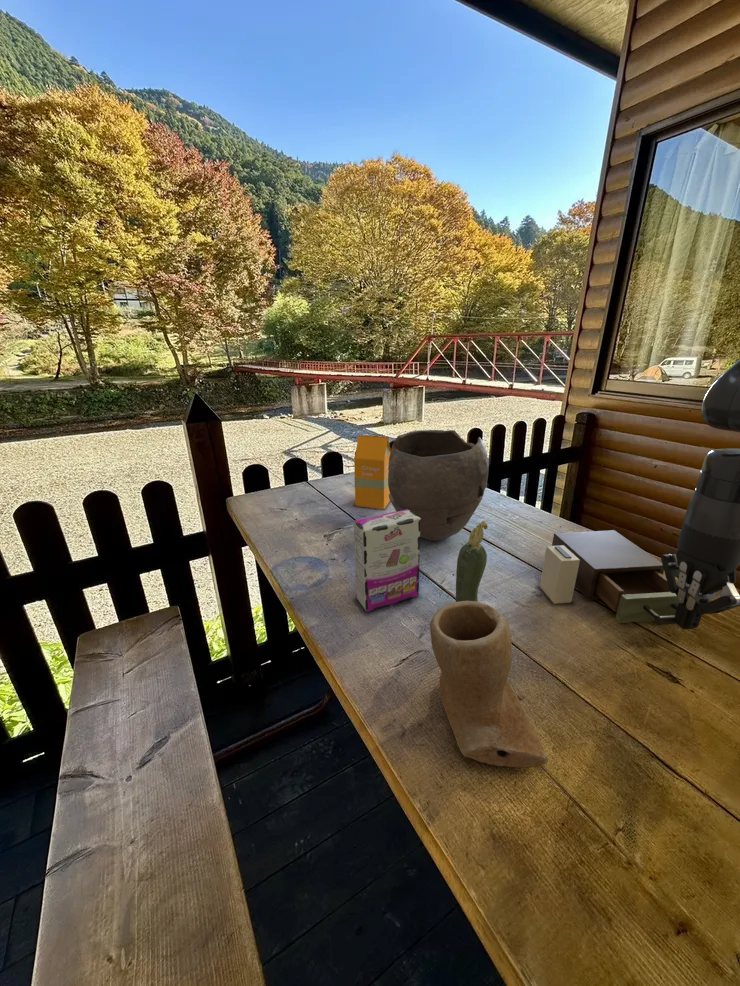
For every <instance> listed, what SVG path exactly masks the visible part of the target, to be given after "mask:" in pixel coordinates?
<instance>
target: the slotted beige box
mask: <svg viewBox="0 0 740 986" xmlns="http://www.w3.org/2000/svg"><path fill="white" fill-rule="evenodd" d="M579 562H580V560H579V559H578V558H577V557H576V556H575V555H574V554H573V553H572V552H570V551H569V550H568V549H567V548H566V547H565V546H564V545H561V546H552V545H546V546H545V553H544V559H543V566H542V571H541V577H540V584H539V588H540V589H541V590H542V592H544V594H546V596H547V597H548V598H549V600H550V601H551V602H552V603H553V604H567V603H568V604H570V603H572V602H573V597H574V591H575V588H576V587H575V582H576V577H577V572H578V567H579Z"/></svg>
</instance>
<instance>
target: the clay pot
mask: <svg viewBox="0 0 740 986" xmlns="http://www.w3.org/2000/svg"><path fill="white" fill-rule="evenodd" d="M485 445H486V444H485V443H484V442H483V440H482V438H481V437H480V436H479V437H478V438H477V442H476V444H475V443H472V442H467V441H466V440H465V439H464V438H462V436H461V435H460V434H459V433H458V432H456V430H453V429H449V430H443V429H442V430H441V429H427V430H426V429H423V430H422V429H421V430H420V429H419V430H412V431H409V432H406V433H403V434H399V435H396V438H395V440H394V442H393V443H392V445H391V447H390V449H391V453H390V457H389V466H388V470H389V472H388V487H389V491H390V494H389V499H390V503H391V505H392V507H393V509H394V510H395V512H397V511H402V510H406V509H408V510H410V511H411V512H412V513H414V514H415V515H417V516H418V517H420V518H421V519H420V538H423V539H425V540H428V541H430V542H433V541H436V542H437V541H442V540H446V539H448V538H450V537H452V536H455V535H457V534H458V533H460V532H461V531H462V530H463V528H464V527H466V526H467V524H468V523H469V522H470V519H471V518H472V517H473V515H474V514H475V512H476V511H477V508H478V507H479V506H480V504H481V502H482V500H483V498H484V494H485V490H486V488H487V486H488V485H487V484H488V478H489V472H490V471H489V468H490V466H489V465H490V463H489V457H488V452H487V449H486V446H485Z"/></svg>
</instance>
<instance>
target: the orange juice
mask: <svg viewBox="0 0 740 986" xmlns="http://www.w3.org/2000/svg"><path fill="white" fill-rule="evenodd" d="M390 453H391V446H390V441H389V437H388V436H375V435H360V434H359V435H358V437H357V443H356V448H355V453H354V456H353V467H354V505H355V507H361V508H370V509H379V510H385V509H386V507H387V506H388V504H389V503H391V501H390V499H389V494H390V491H389V487H388V472H389V470H388V466H389V457H390Z"/></svg>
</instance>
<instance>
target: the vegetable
mask: <svg viewBox="0 0 740 986" xmlns="http://www.w3.org/2000/svg"><path fill="white" fill-rule="evenodd" d="M488 528H489V526H488V524H487V522H486V521H485V520H482V521H481V522H479V523H478V524H477V525H476V526H475V527H473V529H472V530H471V532H470V534H469V537H468V542H466V543H465V544H464V545H463V546H462V547H460V550H459V552H458V556H457V561H456V576H455V602H459V601H476V602H479V599H478V598H479V597H478V594H479V587H480V584H481V580H482V579H483V576H484V572H485V569H486V566H487V561H488V560H487V559H488V555H487V551H486V549H485V547H484V546H483V544H481V543H482V541H483V539H484V530H485V531H486V530H487V529H488Z"/></svg>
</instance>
